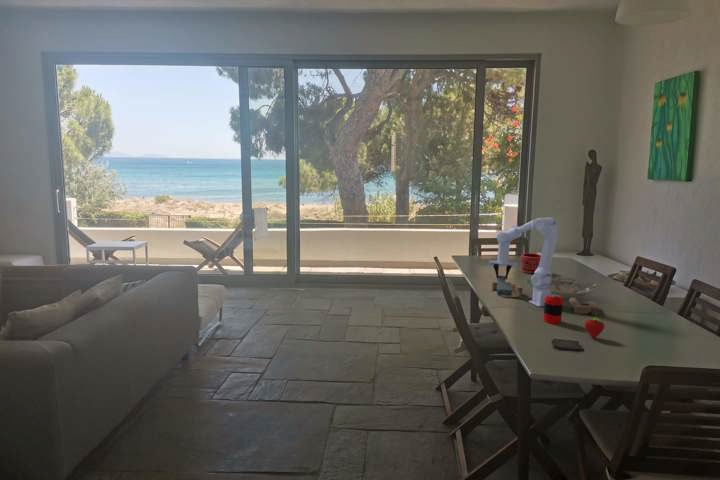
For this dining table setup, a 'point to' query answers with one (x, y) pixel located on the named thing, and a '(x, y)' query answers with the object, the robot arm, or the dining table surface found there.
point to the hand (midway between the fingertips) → (501, 278)
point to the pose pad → (508, 295)
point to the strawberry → (594, 327)
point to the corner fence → (516, 288)
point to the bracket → (504, 286)
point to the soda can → (553, 309)
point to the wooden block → (584, 307)
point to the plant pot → (530, 262)
